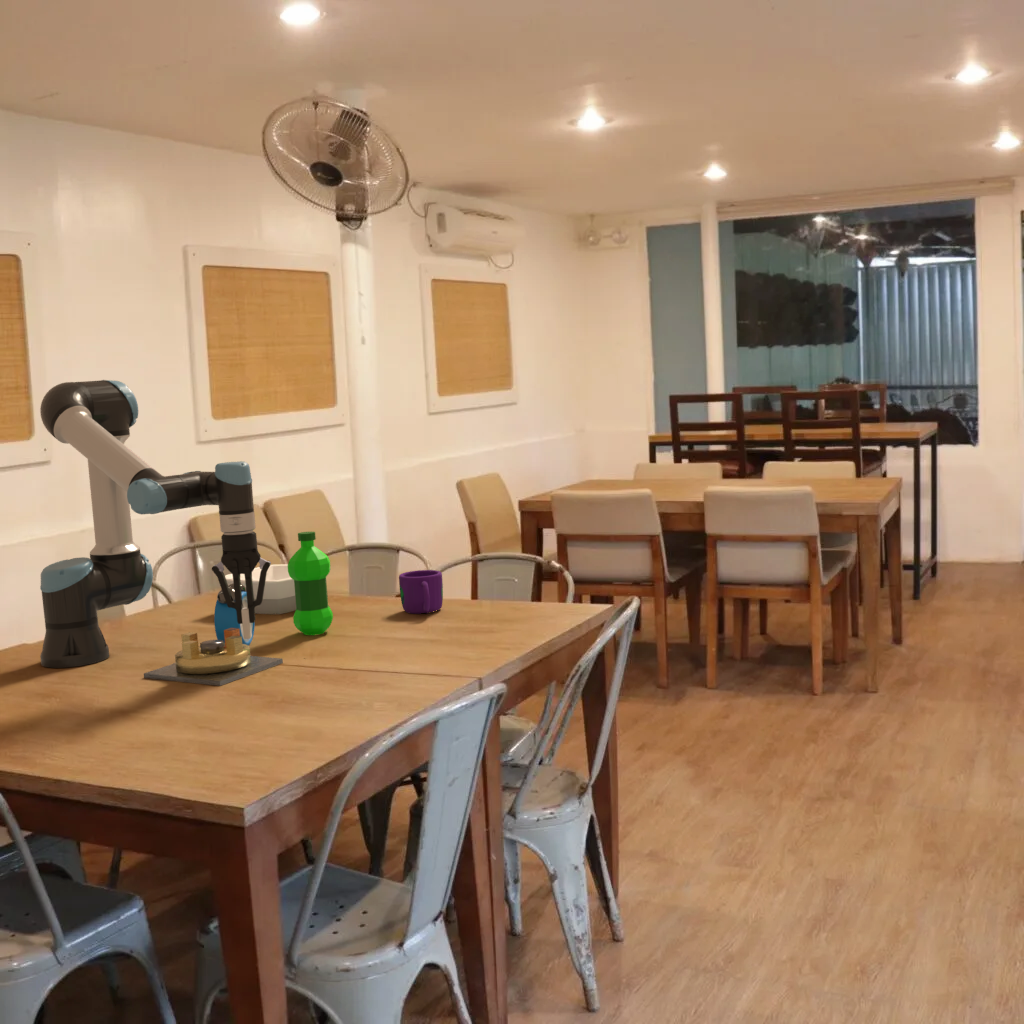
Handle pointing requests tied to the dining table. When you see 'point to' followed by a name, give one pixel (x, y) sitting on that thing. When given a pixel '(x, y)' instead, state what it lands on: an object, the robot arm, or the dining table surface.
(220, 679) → the spindle plate
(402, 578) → the mug
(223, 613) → the alarm clock
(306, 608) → the plastic bottle
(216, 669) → the notched brass disc
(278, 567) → the bowl
